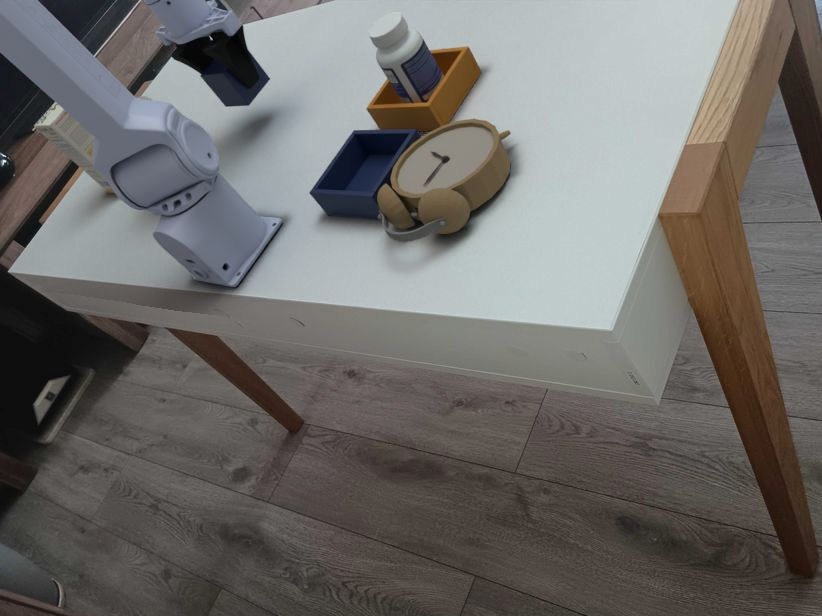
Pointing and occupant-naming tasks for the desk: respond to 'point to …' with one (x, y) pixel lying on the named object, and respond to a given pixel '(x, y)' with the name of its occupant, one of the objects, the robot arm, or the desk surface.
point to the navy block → (233, 84)
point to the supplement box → (71, 140)
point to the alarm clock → (444, 179)
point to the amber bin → (441, 104)
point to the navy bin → (361, 172)
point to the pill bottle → (405, 59)
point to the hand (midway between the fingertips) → (241, 84)
